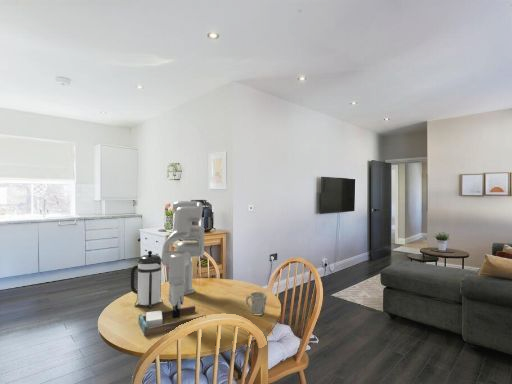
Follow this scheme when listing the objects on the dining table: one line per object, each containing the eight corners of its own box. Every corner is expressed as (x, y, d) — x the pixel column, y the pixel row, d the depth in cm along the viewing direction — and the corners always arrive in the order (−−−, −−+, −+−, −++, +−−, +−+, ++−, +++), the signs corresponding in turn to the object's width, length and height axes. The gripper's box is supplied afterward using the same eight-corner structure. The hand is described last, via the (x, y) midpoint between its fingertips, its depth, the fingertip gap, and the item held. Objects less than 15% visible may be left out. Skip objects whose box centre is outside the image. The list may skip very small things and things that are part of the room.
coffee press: (161, 297, 171) (163, 247, 171) (163, 307, 156) (164, 252, 156) (130, 301, 165) (131, 248, 165) (128, 311, 150) (130, 254, 150)
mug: (261, 318, 144) (261, 298, 145) (240, 312, 151) (241, 293, 151) (269, 312, 152) (269, 294, 152) (249, 307, 158) (249, 289, 158)
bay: (138, 322, 137) (138, 314, 137) (194, 311, 152) (194, 303, 152) (144, 336, 124) (144, 327, 124) (205, 322, 139) (205, 313, 139)
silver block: (145, 322, 138) (146, 312, 138) (161, 320, 140) (161, 310, 140) (145, 332, 129) (146, 321, 129) (162, 329, 131) (162, 318, 131)
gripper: (165, 277, 144) (164, 313, 144) (173, 285, 131) (172, 325, 131) (180, 275, 148) (179, 310, 148) (189, 283, 135) (188, 322, 135)
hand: (176, 317), depth 139 cm, fingers closed
